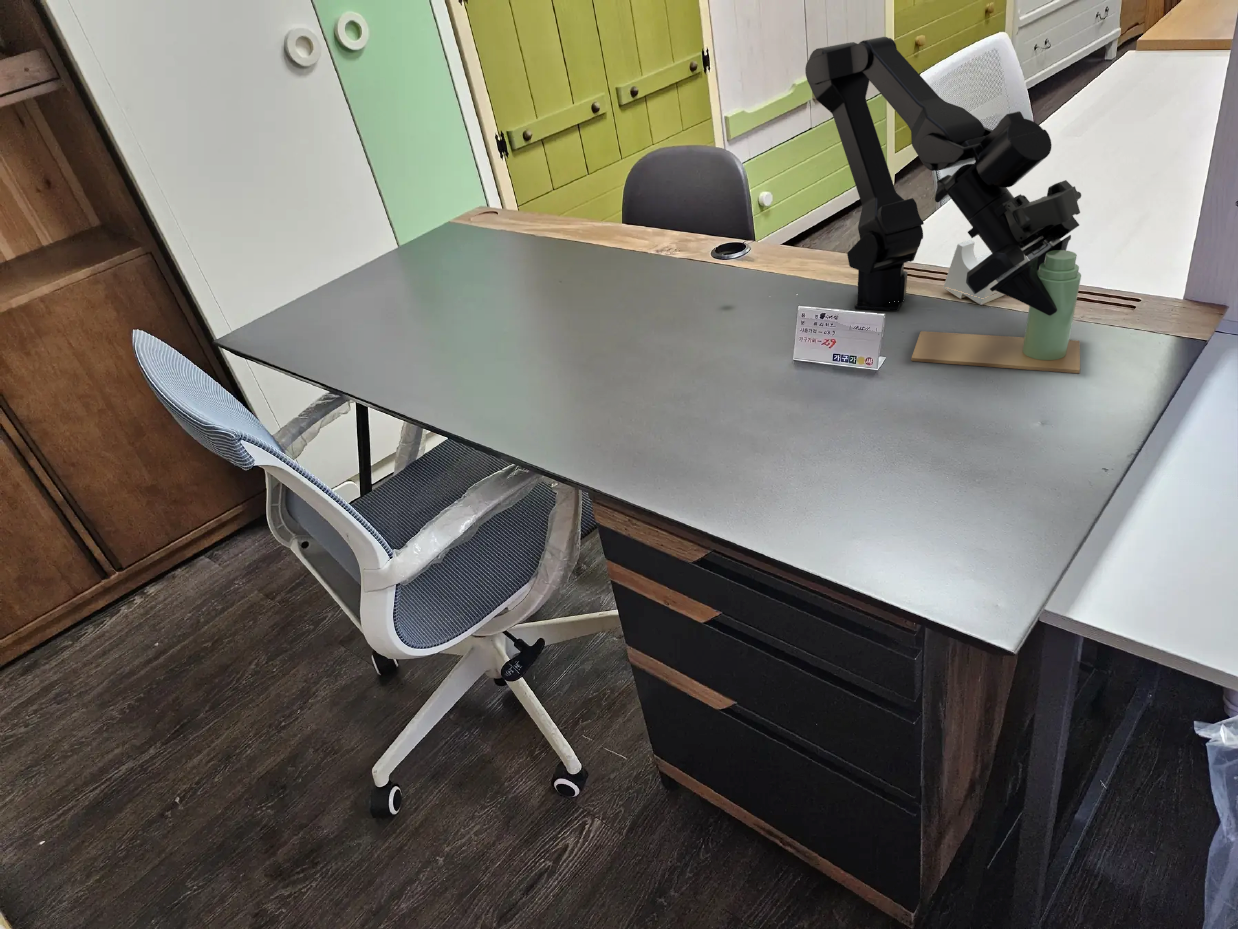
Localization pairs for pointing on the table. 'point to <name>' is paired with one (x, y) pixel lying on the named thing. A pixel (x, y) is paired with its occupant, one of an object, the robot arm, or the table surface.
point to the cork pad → (989, 352)
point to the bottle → (1062, 284)
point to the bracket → (958, 274)
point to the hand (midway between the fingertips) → (1063, 306)
